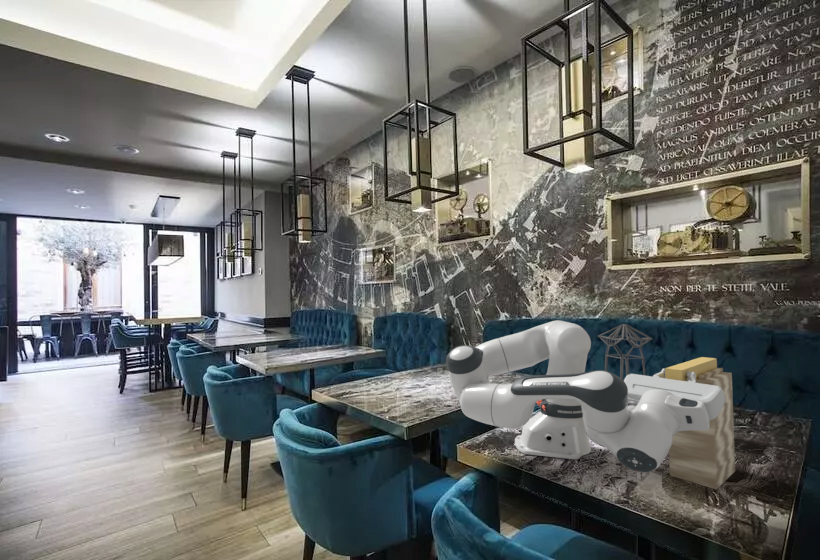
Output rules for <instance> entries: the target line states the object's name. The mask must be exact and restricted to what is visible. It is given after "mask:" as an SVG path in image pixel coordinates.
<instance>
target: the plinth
mask: <svg viewBox="0 0 820 560" xmlns="http://www.w3.org/2000/svg"><path fill="white" fill-rule="evenodd" d="M732 374H733V373H732V372H727V371H726V372H725V371H724V368H723V367H717V369H714V370H711V371H709V372H706V373H704V374H701V375H699V376H698V379H697V380H696V383H701V384H708V385H716V386H719V387H721V389H722V390H723V392H724V396H725V403H724V405H723V407H722V409H721V411H720V413H719V414H718V416H717V417H716V418H715V419H713V420H710V421H709V424H710V426H709V429H708V430H705V431H699V430H689V431H678V432H677V433H676V434H675V435H674V436H673V443H672V446H671V448H670V450H669V452H668V455H669V456H668V457H669V461H668V462H669V476H671V477H674V478H678V479H680V480H685V481H687V482H691V483H693V484H697V485H700V486H703V487H706V488H710V489H714V490H718V489H719V487H721V485H723V483H725V482H726V481H727V480H728V479H729V478H730V477H731V476H732V475H733V474H734V473H735V472H736V458H735V457H736V454H735V453H736V452H735V450H736V449H735V425H734V403H733V401H734V400H733V375H732Z"/></svg>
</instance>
